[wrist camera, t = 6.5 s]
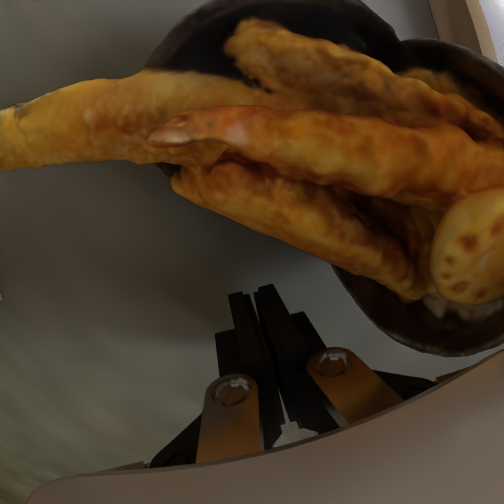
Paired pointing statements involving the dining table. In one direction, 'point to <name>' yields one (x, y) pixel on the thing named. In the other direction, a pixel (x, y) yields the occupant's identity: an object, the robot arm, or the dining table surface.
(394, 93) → the fried shrimp in bowl
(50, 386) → the dining table surface
